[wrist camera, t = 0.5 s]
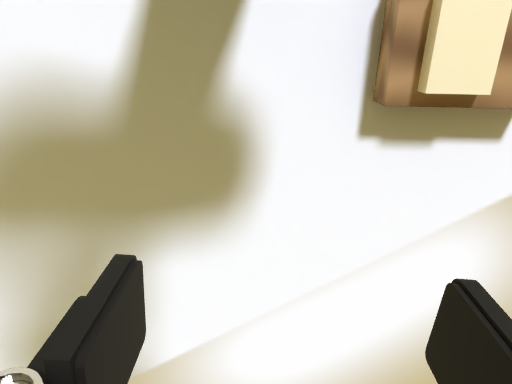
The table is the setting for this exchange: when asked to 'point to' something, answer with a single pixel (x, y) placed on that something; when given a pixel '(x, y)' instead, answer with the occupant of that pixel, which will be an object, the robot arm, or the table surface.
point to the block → (463, 46)
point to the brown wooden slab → (411, 56)
